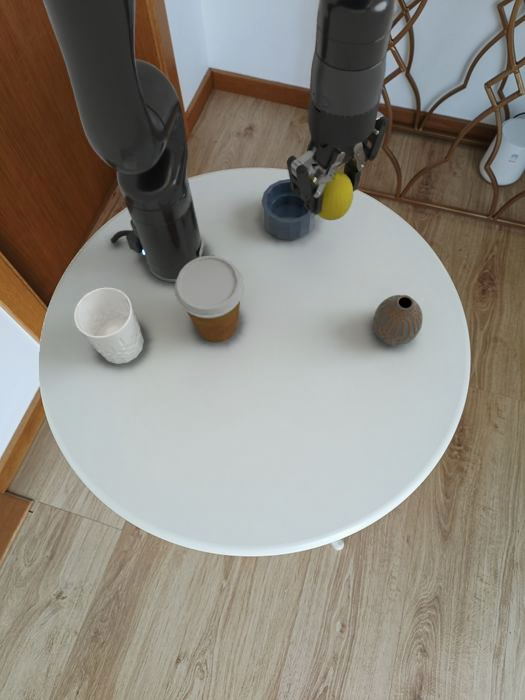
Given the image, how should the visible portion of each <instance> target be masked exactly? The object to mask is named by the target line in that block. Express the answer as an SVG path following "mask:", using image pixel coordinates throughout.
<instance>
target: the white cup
mask: <svg viewBox="0 0 525 700" xmlns="http://www.w3.org/2000/svg"><path fill="white" fill-rule="evenodd" d="M73 321H74V324H75V326H76V328H77V329H78V330H79V332H80V333H81V334H82V335H83V337H84V338H85V339H86V341H88V343H89V344H90V345H91V346H92V347H93V348H94V349H95V350H96V351H97V352H98V353H99V354H100V355H101V356H102V357H103V358H104V359H105V360H106V361H107V362H109V363H112V364H117V365H120V364H121V365H122V364H127V363H130V362H131V361H133V360H134V359H136V358H137V357H138V356H139V355H140V353H141V352H142V350H143V347H144V342H145V341H144V337H143V333H142V331H141V329H142V328H141V326H140V323H139V320H138V317H137V315H136V311H135V309H134V307H133V304H132V302H131V299H130V298H129V296H128V295H127V294H126V293H125V292H124V291H122V290H120V289H118V288H114V287H108V286H107V287H106V286H105V287H99V288H96V289H93V290H91V291H89V292H87V293H85V294H84V296H82V297H81V299H79V300H78V302H77V304H76V306H75V308H74V312H73Z"/></svg>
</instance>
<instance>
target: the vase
mask: <svg viewBox="0 0 525 700" xmlns="http://www.w3.org/2000/svg"><path fill="white" fill-rule="evenodd" d="M375 309H376V310H375V311H374V314H373V320H372V324H373V330H374V332H375V334H376V336H377V337H378V339H379V340H380V341H382V342H383V343H385V344H387V345H390V346H395V347H398V346H403V345H406V344H408V343H410V342H411V341H413V340H414V339H415V338H416V337H417V336H418V335H419V333H420V331H421V329H422V326H423V322H424V321H423V320H424V316H423V311H422V309H421V306H420V305H419V303H418V302H417V301H416V300H415V299H414V298H412V297H411V296H409V295H407V294H394V295H391V296H388V297H387V298H385V299H383V301H381V302H380V303H379V305H378V306H377V308H375Z"/></svg>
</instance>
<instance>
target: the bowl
mask: <svg viewBox="0 0 525 700" xmlns="http://www.w3.org/2000/svg"><path fill="white" fill-rule="evenodd" d="M304 202H305V201H303V200H302V198H301V197H300V196H299V195H298V194H297V193H296V192H294V191H293V190H292V188H291V183H290V178H286V179H280V180H277V181H275V182H274V183H272V184H270V185H269V186H268V187H267V188H266V189H265V190H264V191H263V193H262V198H261V219H262V223H263V227H264V228H265V229H266V231H267V232H268V233H269V234H270V235H272V236H273V237H276V238H277V239H281V240H288V241H289V240H291V241H292V240H297V239H301V238H303V237H304V236H306V235H308V234H310V232H311V231H312V230H313V229H314V227H315V225H316V222H317V216H318V215H315V214H314V213H311V212H310V211H309V210H308V209H307V208H306V207H305V205H304Z"/></svg>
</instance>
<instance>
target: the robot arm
mask: <svg viewBox="0 0 525 700" xmlns="http://www.w3.org/2000/svg"><path fill="white" fill-rule="evenodd" d="M42 3H43V6H44V8H45V11H46V13H47V16H48V19H49V22H50V26H51V28H52V30H53V33H54V36H55V38H56V41H57V43H58V46H59V49H60V52H61V54H62V58H63V61H64V63H65V66H66V70H67V73H68V78H69V81H70V84H71V88H72V92H73V96H74V99H75V104H76V107H77V111H78V116H79V118H80V119H79V120H80V122H81V125H82V129H83V132H84V134H85V137H86V139H87V141H88V143H89V145H90V146H91V148H92V150H93V152H94V153H96V155H97V156H98V157H99V158H100V159H101V160H102V162H104V163H105V164H106V165H107V166H108V167H110V168H112V169H113V170H114V171H116V179H117V184H118V188H119V190H120V192H121V195H122V198H123V201H124V203H125V206H126V208H127V211H128V214H129V216H130V218H131V219H130V221H129V223H130V226H131V230H129V229H124V230H119V231H117V232H116V233H114V234H113V236H112V237H111V238H110V242H111V243H112V244H116V243H117V242H118V241H119V240H120V239H121V238H122V237H125V239H126V242H127V244H128V247H129V249H130V250H132V251H134V252H136V253H137V254H139V255H142V257H143V260H145V261H146V263H147V265H148V268H149V270H150V273H152V274H153V275H154V276H155V277H156V278H157V279H159V280H161V281H164V282H167V283H176V280H177V278H178V276H179V273H180V271H181V270H182V269H183V267H184V266H185V265H186V264H188V263H189V262H190V261H192V260H194V259H196V258H199V257H203V256H206V253H205V249H204V245H205V240H204V238H201V232H200V228H199V224H198V217H197V215H196V214H197V213H196V210H195V209H196V208H195V204H194V200H193V196H192V190H191V186H190V181H189V177H188V167H189V166H188V165H189V148H188V142H187V135H186V128H185V120H184V115H183V110H182V105H181V102H180V99H179V95H178V94H177V91H176V88H175V87H174V85H173V83H172V82H171V80H170V79H169V78H168V77H167V76H166V74H165V73H164V72H163V71H161V70H160V69H159V68H158V67H156V66H155V65H153V64H152V63H150V62H148V61H145V60H143V59H137V58H136V50H135V37H136V35H135V33H136V32H135V31H136V30H135V28H136V0H42ZM395 7H396V0H318V7H317V12H316V13H317V14H316V15H317V16H316V25H315V26H316V27H315V39H314V41H315V42H314V51H313V55H312V61H311V67H310V80H309V95H308V96H309V97H308V113H307V125H308V129H309V132H310V139H309V142H308V144H307V147H306V151H305V153H303V154H302V155H301V156H299V157H298V158H297V157H296V156H295V155H290V156H289V157H288V158H287V160H286V166H287V173H288V177H289V179H290V183H291V188H292V190H293V191H294V192H296V193H297V194H298V195H299V196H300V197H301V198H302V200H303V201H305V202H304V205H305V207H306V208H307V209H308V210H309V211H310V212H311V213H314V214H315V215H317V214H319V213H320V212H321V207H322V198H323V194H322V192H323V190H324V187H325V185H326V183H328V182H331V180H332V178H333V176H334V174H335V172H336V170H337V169H338V168H339V167H340V166H342V165H343V164H344V166H343V173H344V174H346V175H347V176H348V178H349V179H350V181H351V183H352V186H353V193H354V192H356V191H357V190H358V185H359V183H360V181H361V176H362V171H363V170H364V169H365V168H366V165H367V164H366V163H367V162H368V161H370V162H372V161H374V160H375V159H376V158H377V156H378V154H379V151H380V148H381V145H382V142H383V140H384V137H385V134H386V131H387V129H388V125H389V123H390V119H389V118H387V117H386V116H385V115H384V114H383V113H382V112H380V111H379V107H380V102H381V99H382V98H381V97H382V92H383V87H384V82H385V77H386V70H387V55H388V54H387V53H388V47H389V42H390V38H391V34H392V33H391V32H392V28H393V23H394V17H395V10H396V9H395ZM369 143H370V144H371V146H369V145H368V144H369ZM315 179H317V180H318V182H317V184H315ZM317 216H318V215H317Z"/></svg>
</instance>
